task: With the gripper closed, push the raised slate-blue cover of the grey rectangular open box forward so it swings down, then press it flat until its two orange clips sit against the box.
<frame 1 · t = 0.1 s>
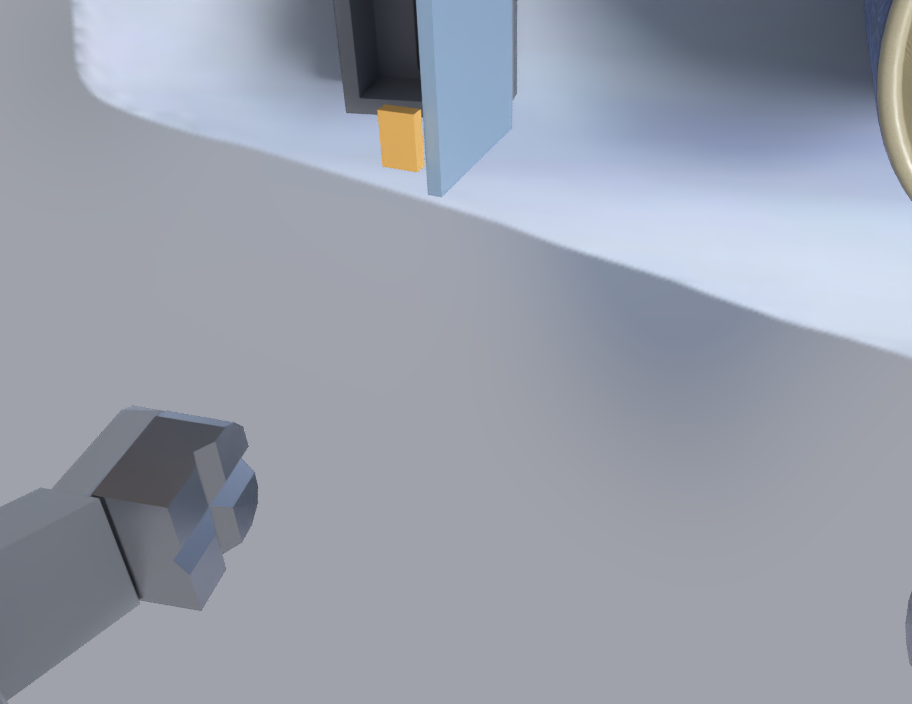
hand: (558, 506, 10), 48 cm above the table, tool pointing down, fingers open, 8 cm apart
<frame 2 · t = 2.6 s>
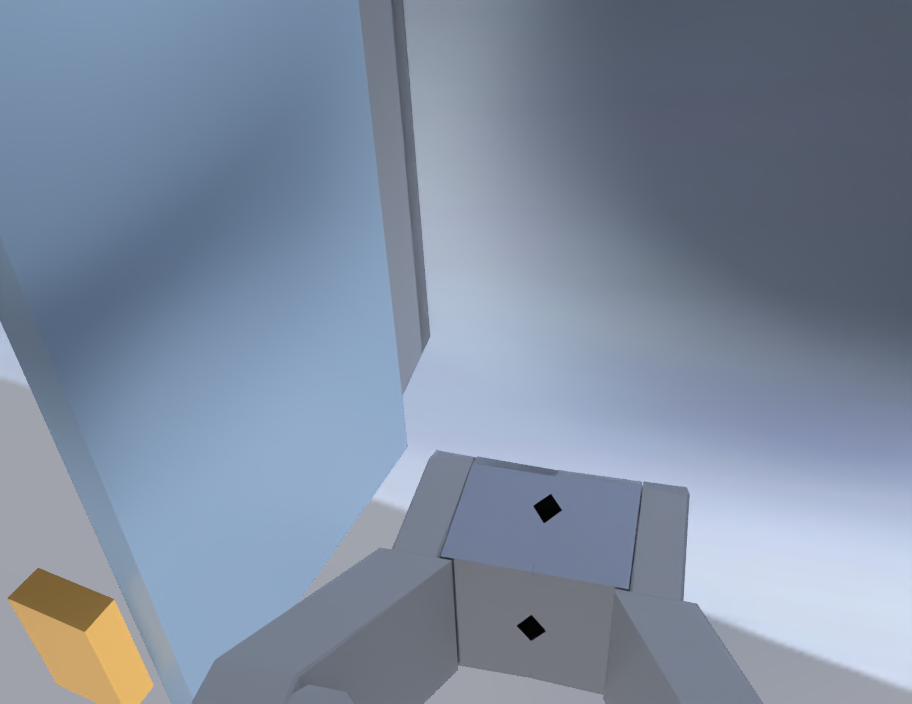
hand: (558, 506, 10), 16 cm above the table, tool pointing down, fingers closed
duct cover: (163, 186, 17), point 11 cm above the table, hinge at 80.0°
grey rectangular open box: (239, 12, 25), on the table
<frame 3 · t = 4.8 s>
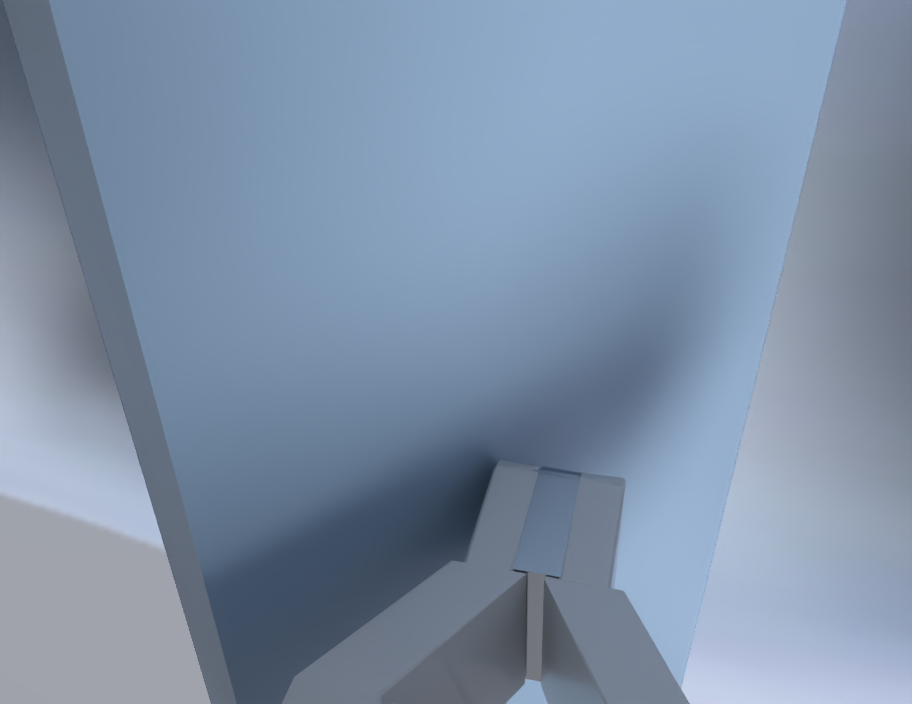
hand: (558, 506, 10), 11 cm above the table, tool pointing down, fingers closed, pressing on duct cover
duct cover: (466, 419, 12), point 10 cm above the table, hinge at 57.3°, touching gripper
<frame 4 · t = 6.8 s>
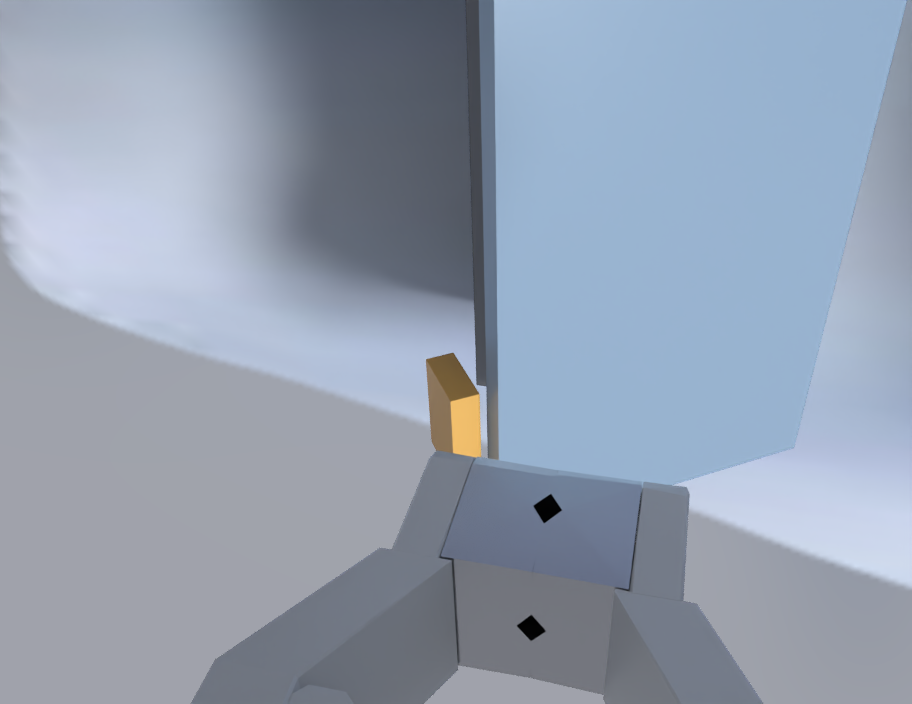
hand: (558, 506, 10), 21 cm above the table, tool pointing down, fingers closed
duct cover: (650, 115, 21), point 8 cm above the table, hinge at 34.5°
grey rectangular open box: (665, 23, 27), on the table
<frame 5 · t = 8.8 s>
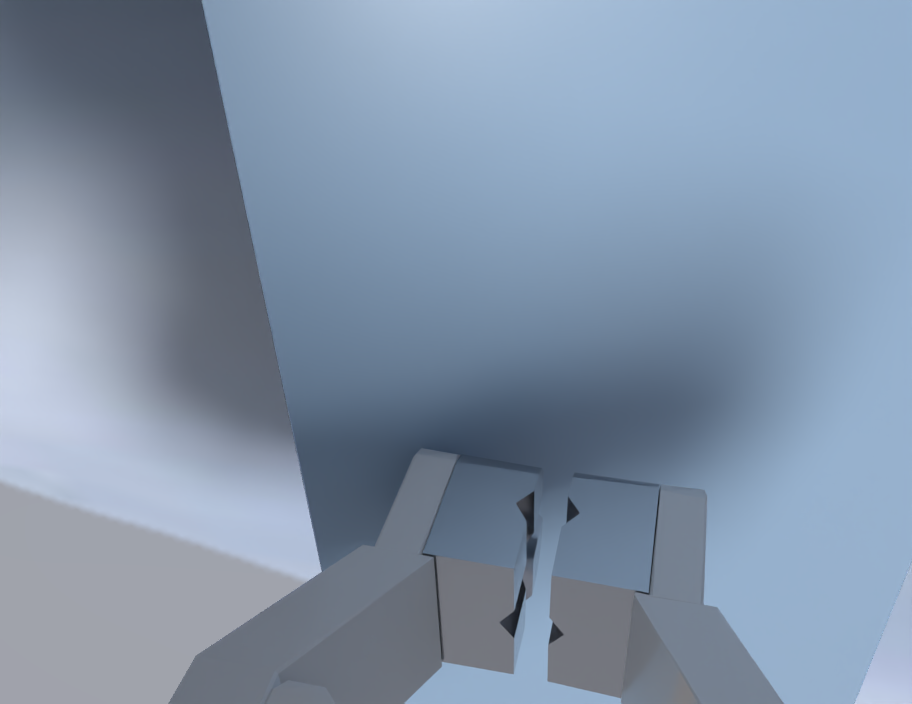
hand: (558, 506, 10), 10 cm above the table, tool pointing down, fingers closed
duct cover: (607, 350, 12), point 8 cm above the table, hinge at 31.3°, touching gripper
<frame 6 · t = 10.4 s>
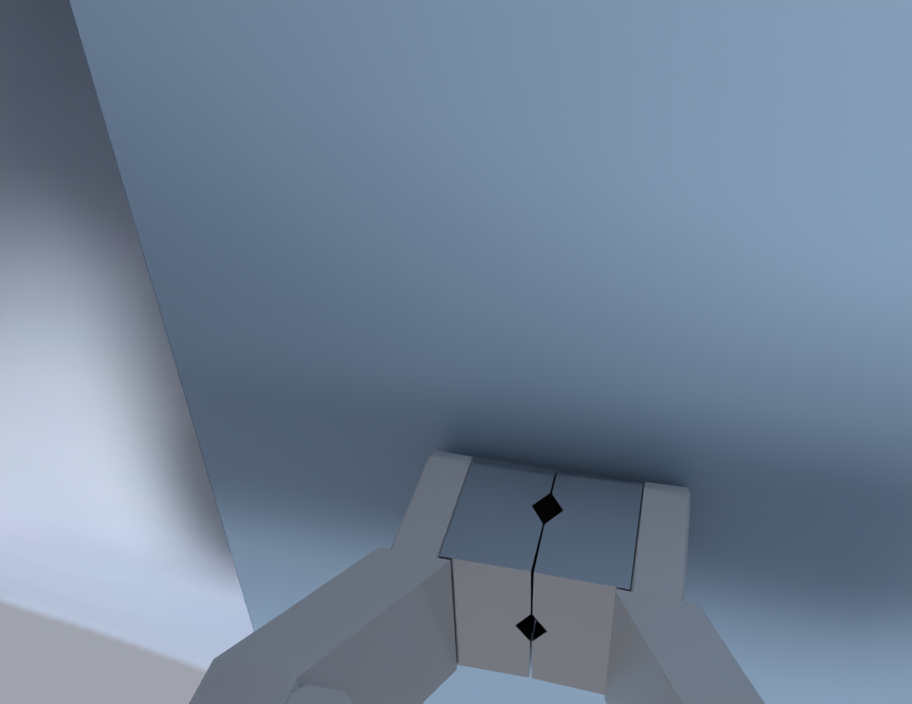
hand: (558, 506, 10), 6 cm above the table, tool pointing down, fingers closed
duct cover: (554, 404, 11), point 5 cm above the table, hinge at 0.5°
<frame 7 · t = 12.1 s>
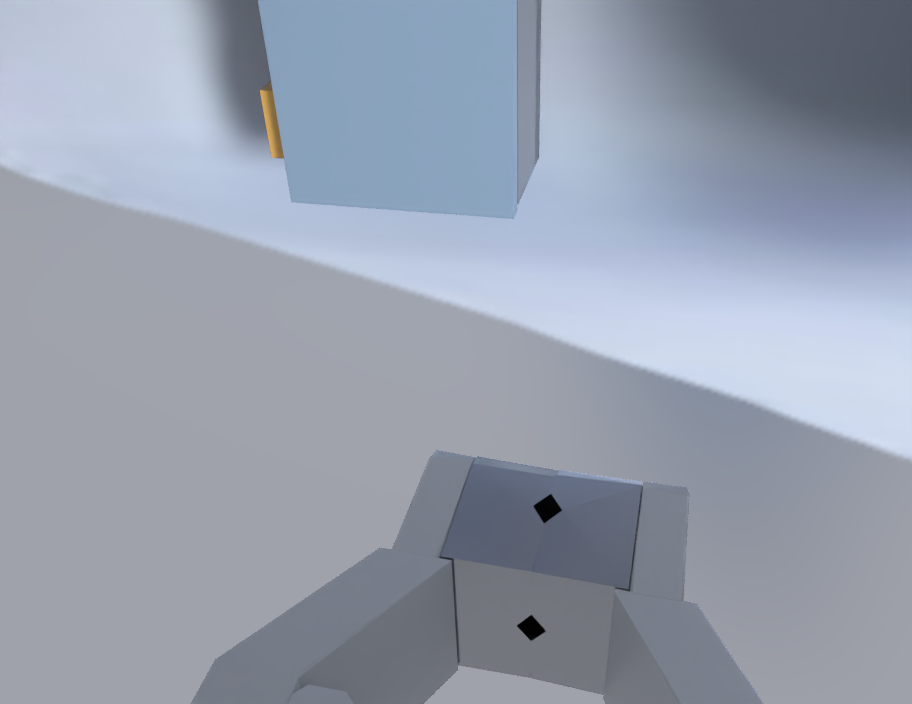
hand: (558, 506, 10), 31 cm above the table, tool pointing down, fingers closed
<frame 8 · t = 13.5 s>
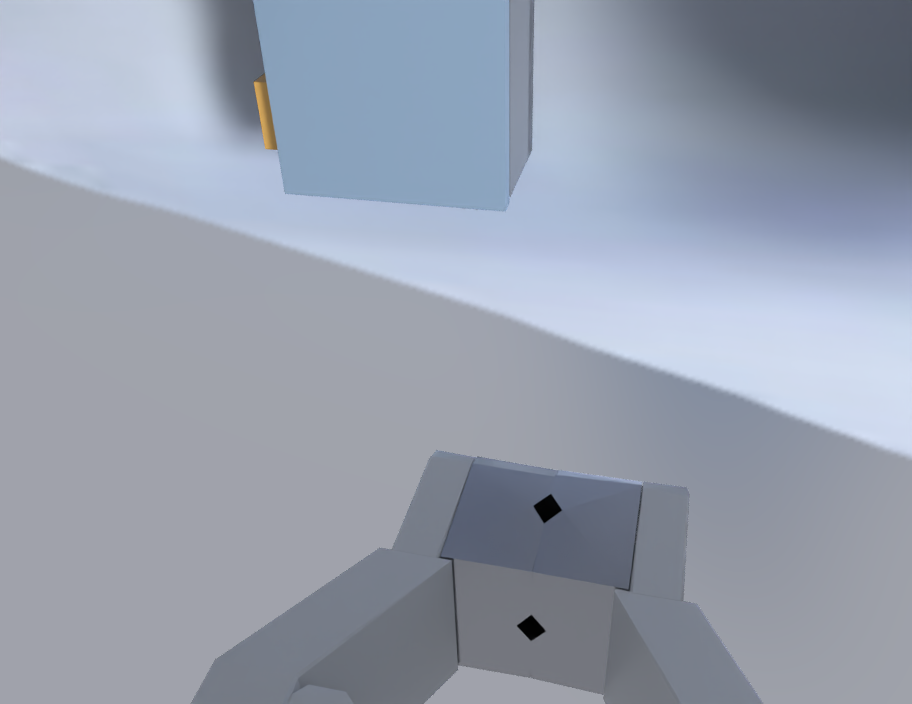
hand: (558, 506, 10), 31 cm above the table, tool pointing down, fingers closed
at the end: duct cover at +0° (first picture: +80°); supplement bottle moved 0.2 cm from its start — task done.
